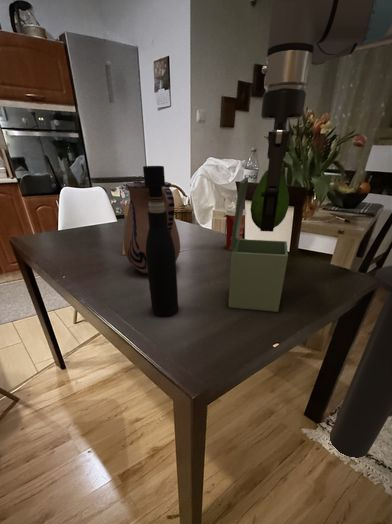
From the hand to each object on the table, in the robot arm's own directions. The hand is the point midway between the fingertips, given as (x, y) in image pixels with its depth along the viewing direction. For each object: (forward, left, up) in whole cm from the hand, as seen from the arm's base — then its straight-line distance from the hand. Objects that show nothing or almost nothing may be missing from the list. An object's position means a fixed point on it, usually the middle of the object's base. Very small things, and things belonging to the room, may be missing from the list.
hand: (267, 226), depth 64 cm
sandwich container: (+50, -37, -18) cm, 65 cm away
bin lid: (+6, 0, +2) cm, 7 cm away
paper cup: (+12, -45, -18) cm, 50 cm away
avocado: (0, 0, -1) cm, 1 cm away
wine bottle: (+22, +11, -18) cm, 31 cm away
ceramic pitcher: (+33, -15, -18) cm, 41 cm away
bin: (+1, 0, -18) cm, 18 cm away
